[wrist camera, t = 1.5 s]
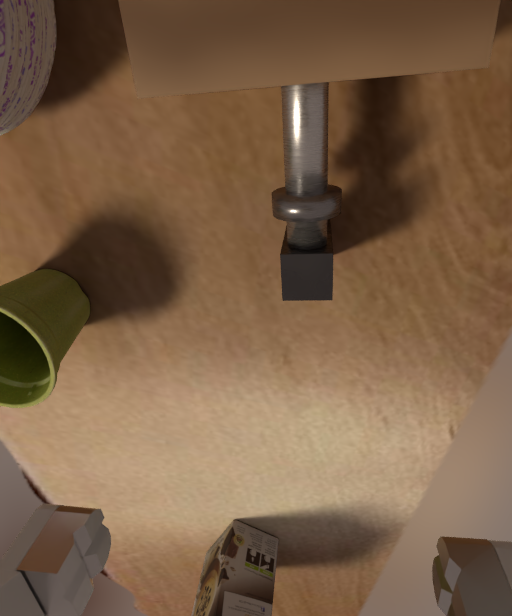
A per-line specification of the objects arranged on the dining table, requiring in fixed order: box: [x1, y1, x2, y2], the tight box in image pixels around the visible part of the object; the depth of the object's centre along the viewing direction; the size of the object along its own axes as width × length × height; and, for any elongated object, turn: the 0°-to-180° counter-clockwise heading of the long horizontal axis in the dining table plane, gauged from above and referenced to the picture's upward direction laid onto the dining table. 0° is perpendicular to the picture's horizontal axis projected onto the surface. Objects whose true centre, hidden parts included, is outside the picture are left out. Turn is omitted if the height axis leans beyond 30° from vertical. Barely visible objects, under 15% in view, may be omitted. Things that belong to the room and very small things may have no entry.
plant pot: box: [0, 269, 90, 408], centre depth 32 cm, size 9×9×9 cm
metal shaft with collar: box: [272, 82, 342, 301], centre depth 22 cm, size 20×4×7 cm, turn 5°
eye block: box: [118, 0, 501, 99], centre depth 19 cm, size 6×14×10 cm, turn 95°
